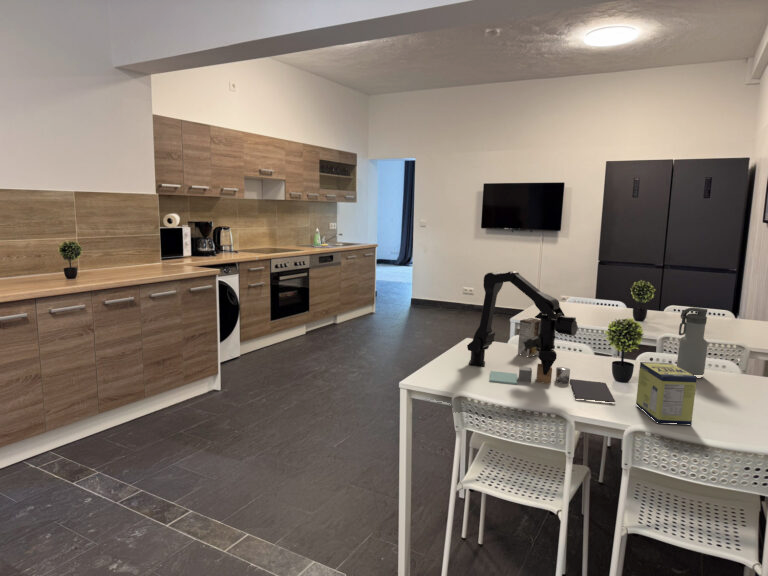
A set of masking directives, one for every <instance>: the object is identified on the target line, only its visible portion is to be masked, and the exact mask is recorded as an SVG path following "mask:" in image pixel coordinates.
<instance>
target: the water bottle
mask: <svg viewBox="0 0 768 576" xmlns="http://www.w3.org/2000/svg"><path fill="white" fill-rule="evenodd" d="M689 312H697V313H689ZM707 313H708V309H707V308H703V307H702V308H701V307H695V306H694V307H692V306H691V307H689V308H685V309H684V310H683V311H681V313H680V319H681V323H679V326H678V327H679V329H678V336H682V337H680V339H679V343H678V345H679V346H678V351H677V352H678V353H677V361H676V366H677V367H679V368H680V369H682V370H684V371H686V372H688V373H690V374H692V375H703V374H704V375H705V367H706V361H707V353H708V345H709V344H708V341H707V340H706V339H705V329H706V325H707V319H708V317H707ZM683 325H684V326H683ZM682 327H683V328H682ZM682 329H683V332H682ZM683 335H684V336H683Z"/></svg>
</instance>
